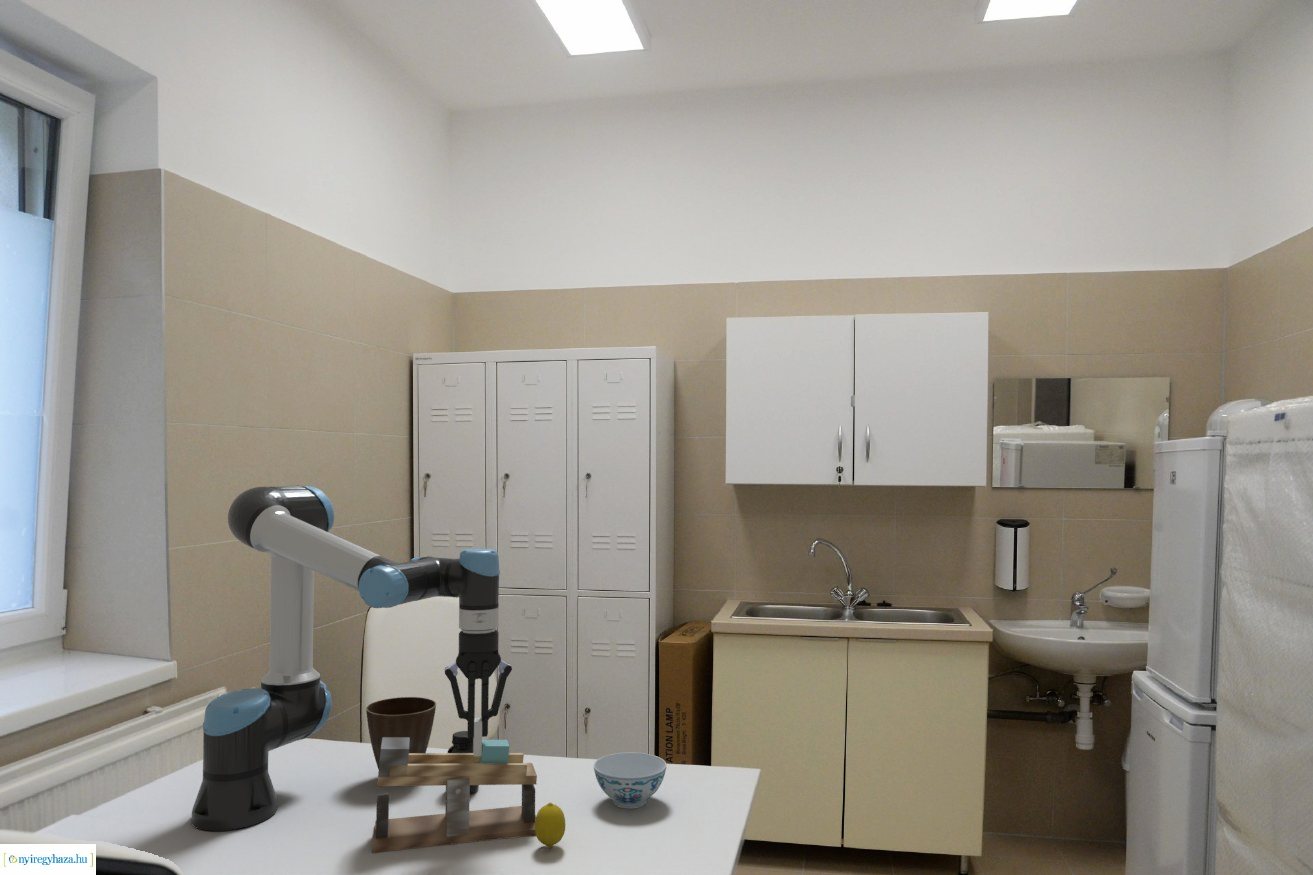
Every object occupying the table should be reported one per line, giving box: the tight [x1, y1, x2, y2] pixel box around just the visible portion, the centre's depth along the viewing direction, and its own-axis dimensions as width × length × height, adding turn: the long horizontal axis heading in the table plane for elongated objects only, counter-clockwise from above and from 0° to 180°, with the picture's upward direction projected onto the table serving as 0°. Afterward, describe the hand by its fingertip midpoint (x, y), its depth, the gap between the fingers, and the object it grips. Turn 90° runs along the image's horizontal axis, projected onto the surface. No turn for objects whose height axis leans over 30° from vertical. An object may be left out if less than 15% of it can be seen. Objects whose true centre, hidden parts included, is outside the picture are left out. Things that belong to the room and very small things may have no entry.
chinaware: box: [593, 751, 667, 809], centre depth 177 cm, size 15×15×8 cm
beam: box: [376, 737, 538, 787], centre depth 163 cm, size 29×7×7 cm, turn 105°
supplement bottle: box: [446, 730, 480, 796], centre depth 183 cm, size 7×7×12 cm
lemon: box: [535, 802, 566, 849], centre depth 155 cm, size 6×6×8 cm
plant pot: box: [365, 696, 437, 771], centre depth 190 cm, size 15×15×16 cm
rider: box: [480, 739, 510, 763], centre depth 165 cm, size 5×4×5 cm
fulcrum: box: [371, 778, 537, 854], centre depth 163 cm, size 30×12×11 cm, turn 105°
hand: (477, 753), depth 164 cm, fingers closed
